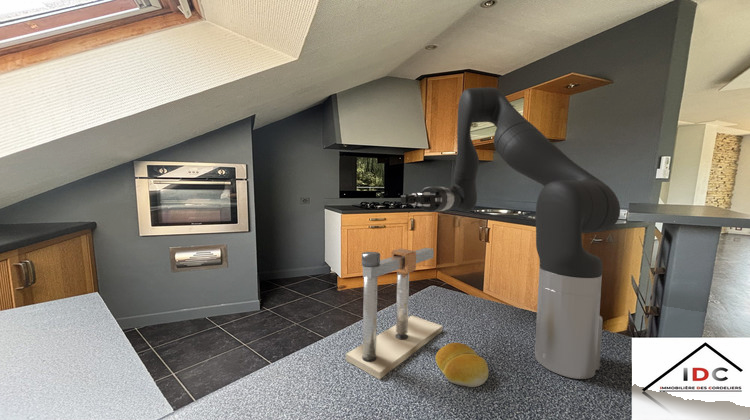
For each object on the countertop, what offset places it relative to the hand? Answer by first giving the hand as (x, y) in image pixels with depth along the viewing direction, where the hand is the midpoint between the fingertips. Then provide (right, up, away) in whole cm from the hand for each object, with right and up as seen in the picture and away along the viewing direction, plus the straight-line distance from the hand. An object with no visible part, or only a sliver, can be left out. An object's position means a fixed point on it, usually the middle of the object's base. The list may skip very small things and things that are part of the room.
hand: (403, 199), depth 73 cm
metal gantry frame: (-2, -29, -15) cm, 33 cm away
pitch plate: (-3, -30, -16) cm, 34 cm away
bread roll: (+8, -31, -24) cm, 40 cm away
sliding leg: (-2, -28, -15) cm, 32 cm away
